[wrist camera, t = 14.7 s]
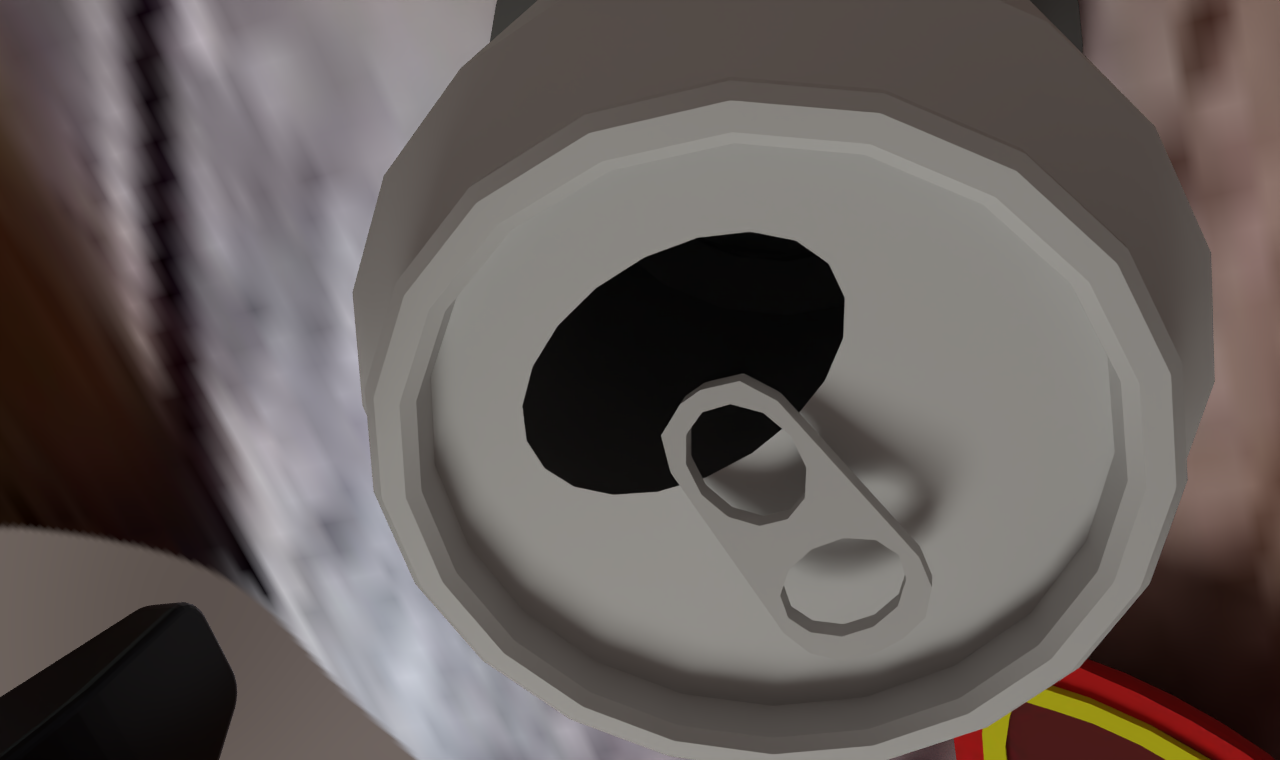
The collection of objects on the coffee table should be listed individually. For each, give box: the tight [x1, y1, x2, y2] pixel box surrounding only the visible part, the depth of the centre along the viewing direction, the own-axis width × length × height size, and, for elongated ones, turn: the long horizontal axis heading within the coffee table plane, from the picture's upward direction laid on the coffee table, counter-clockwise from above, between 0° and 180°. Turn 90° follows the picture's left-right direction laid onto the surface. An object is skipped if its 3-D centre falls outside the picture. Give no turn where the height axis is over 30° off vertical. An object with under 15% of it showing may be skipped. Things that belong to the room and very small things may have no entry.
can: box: [353, 0, 1215, 760], centre depth 13 cm, size 8×8×12 cm
